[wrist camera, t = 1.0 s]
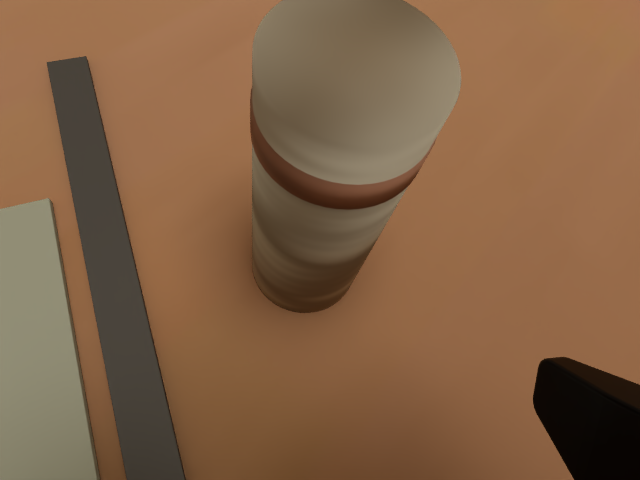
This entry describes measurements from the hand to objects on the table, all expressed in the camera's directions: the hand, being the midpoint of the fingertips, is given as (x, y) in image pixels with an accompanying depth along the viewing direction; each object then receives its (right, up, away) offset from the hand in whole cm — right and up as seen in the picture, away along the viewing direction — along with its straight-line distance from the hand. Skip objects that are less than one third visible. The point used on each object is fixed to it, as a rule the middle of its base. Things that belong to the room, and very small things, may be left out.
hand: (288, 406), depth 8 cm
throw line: (-8, -1, +13) cm, 15 cm away
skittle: (0, +2, +15) cm, 15 cm away
